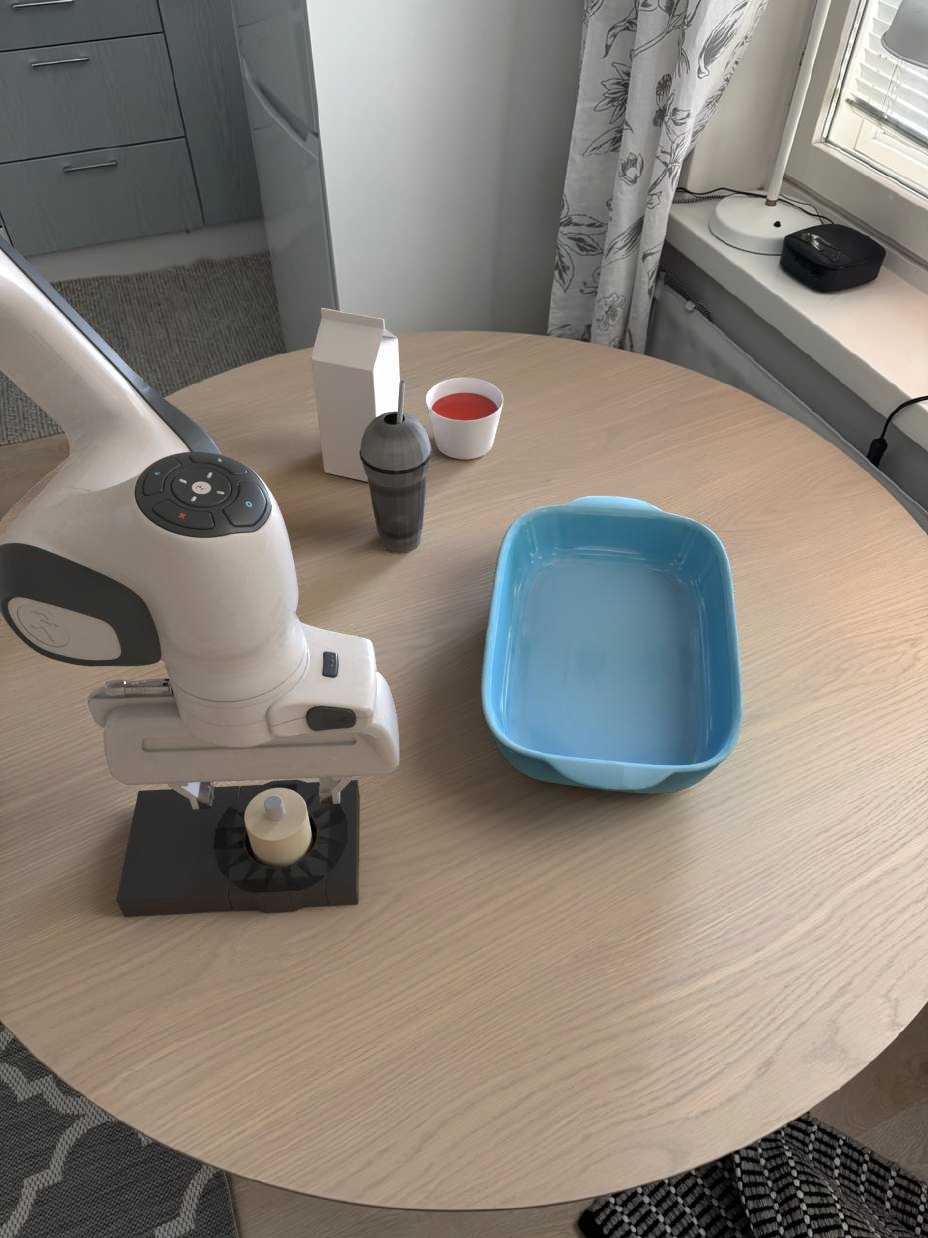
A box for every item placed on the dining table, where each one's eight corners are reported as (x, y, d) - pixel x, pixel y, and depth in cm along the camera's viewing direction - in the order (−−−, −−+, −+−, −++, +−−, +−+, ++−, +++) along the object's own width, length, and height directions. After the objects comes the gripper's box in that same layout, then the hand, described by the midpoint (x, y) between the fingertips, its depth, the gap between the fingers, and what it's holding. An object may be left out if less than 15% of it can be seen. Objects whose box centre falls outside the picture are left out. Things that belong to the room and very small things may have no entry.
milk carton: (380, 485, 114) (370, 335, 100) (324, 473, 116) (306, 324, 102) (403, 451, 119) (396, 303, 105) (348, 439, 120) (334, 292, 107)
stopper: (252, 879, 79) (238, 831, 74) (257, 827, 82) (244, 777, 77) (312, 876, 79) (303, 828, 74) (315, 824, 82) (306, 775, 77)
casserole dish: (504, 534, 108) (506, 482, 103) (712, 551, 106) (725, 498, 101) (465, 823, 83) (465, 772, 77) (738, 851, 81) (757, 801, 76)
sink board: (123, 921, 76) (115, 905, 74) (145, 804, 84) (138, 787, 82) (358, 908, 77) (356, 892, 75) (360, 793, 85) (357, 776, 83)
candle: (412, 449, 119) (410, 403, 114) (455, 413, 124) (455, 369, 120) (474, 475, 115) (474, 430, 111) (516, 438, 121) (518, 393, 116)
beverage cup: (394, 509, 111) (385, 348, 97) (447, 534, 108) (446, 372, 94) (352, 544, 107) (336, 382, 93) (406, 571, 104) (398, 408, 90)
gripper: (70, 722, 62) (120, 841, 72) (396, 711, 64) (402, 829, 73) (90, 648, 67) (135, 770, 77) (395, 638, 68) (400, 759, 78)
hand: (267, 799), depth 75 cm, fingers open, 8 cm apart
